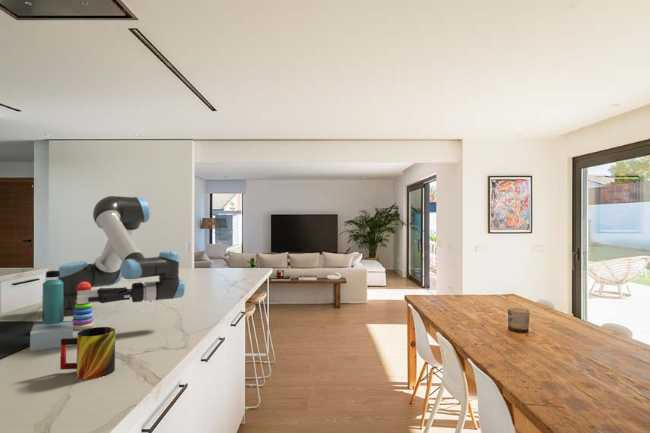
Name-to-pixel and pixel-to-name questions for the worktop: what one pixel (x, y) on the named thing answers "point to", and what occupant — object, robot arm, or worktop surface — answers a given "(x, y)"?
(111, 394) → the worktop surface
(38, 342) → the block
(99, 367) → the mug
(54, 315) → the beverage bottle
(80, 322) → the stacking toy
